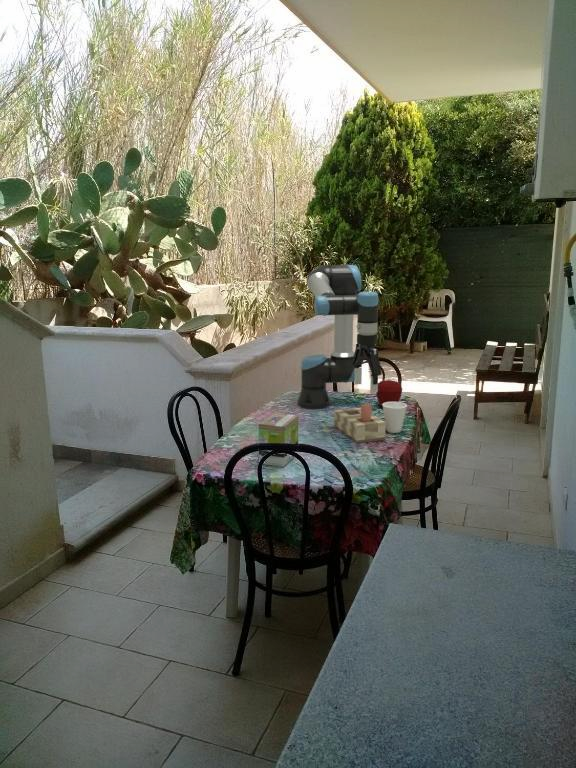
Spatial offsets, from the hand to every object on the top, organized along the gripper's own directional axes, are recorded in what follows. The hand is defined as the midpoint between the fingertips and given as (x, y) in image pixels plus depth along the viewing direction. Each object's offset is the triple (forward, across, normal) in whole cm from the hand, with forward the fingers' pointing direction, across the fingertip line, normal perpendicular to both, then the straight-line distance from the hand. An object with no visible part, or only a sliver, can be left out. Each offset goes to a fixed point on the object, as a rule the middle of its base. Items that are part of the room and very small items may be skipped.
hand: (365, 388), depth 226 cm
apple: (+20, -35, +30) cm, 50 cm away
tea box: (+20, +11, -39) cm, 45 cm away
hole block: (+20, -5, 0) cm, 20 cm away
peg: (+19, +1, 0) cm, 19 cm away
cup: (+20, -2, +14) cm, 25 cm away
